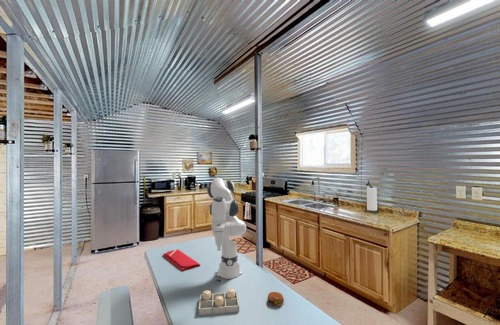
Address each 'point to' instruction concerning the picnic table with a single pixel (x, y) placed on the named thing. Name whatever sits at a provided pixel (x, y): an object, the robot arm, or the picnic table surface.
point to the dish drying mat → (181, 260)
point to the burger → (275, 298)
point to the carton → (210, 308)
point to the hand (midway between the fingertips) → (218, 247)
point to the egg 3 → (230, 294)
